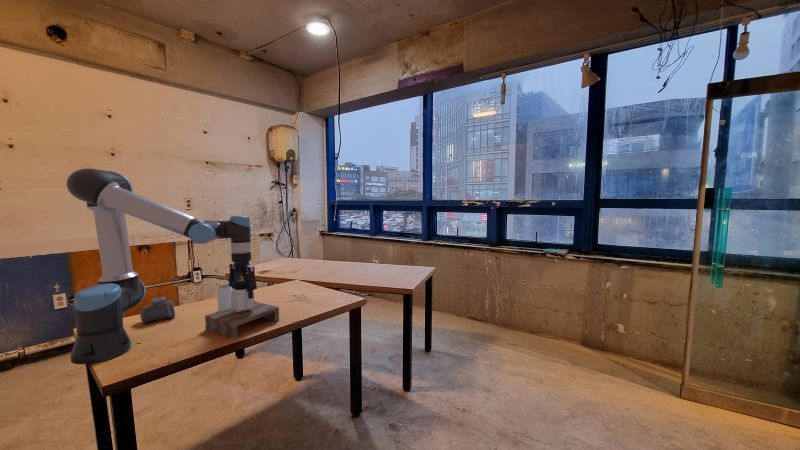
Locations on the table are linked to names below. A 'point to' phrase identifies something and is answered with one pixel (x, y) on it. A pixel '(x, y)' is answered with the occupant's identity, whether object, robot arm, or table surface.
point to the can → (224, 297)
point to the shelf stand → (238, 318)
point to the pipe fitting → (157, 310)
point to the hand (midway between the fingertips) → (243, 304)
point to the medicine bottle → (240, 297)
